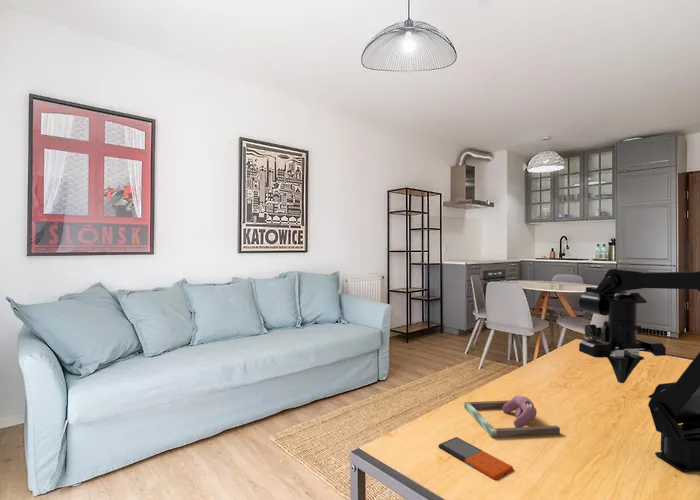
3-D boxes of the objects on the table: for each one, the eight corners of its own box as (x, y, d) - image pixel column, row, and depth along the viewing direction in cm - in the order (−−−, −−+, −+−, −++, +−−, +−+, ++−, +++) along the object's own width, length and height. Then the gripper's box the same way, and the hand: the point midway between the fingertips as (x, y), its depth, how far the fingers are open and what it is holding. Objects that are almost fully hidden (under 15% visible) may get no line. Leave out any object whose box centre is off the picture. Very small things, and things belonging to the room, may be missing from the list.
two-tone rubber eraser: (495, 477, 76) (437, 443, 88) (495, 483, 76) (437, 449, 88) (514, 466, 79) (456, 435, 92) (514, 472, 79) (456, 440, 92)
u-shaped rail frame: (559, 434, 94) (559, 427, 94) (491, 437, 92) (491, 431, 92) (522, 405, 110) (522, 399, 110) (464, 407, 109) (464, 402, 109)
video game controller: (529, 435, 97) (543, 410, 96) (513, 426, 97) (526, 402, 97) (514, 416, 107) (527, 394, 106) (499, 409, 107) (511, 386, 106)
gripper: (630, 312, 104) (628, 370, 105) (565, 313, 102) (563, 372, 103) (668, 321, 93) (666, 385, 94) (596, 322, 91) (595, 388, 92)
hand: (620, 382), depth 96 cm, fingers closed
